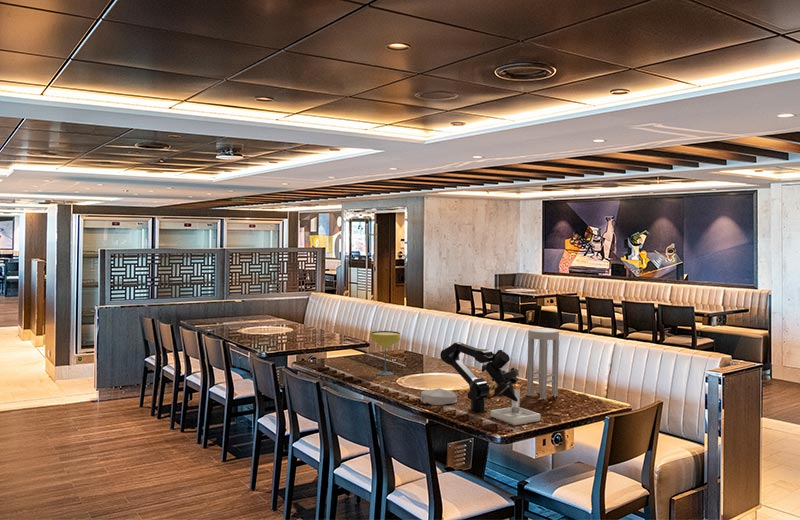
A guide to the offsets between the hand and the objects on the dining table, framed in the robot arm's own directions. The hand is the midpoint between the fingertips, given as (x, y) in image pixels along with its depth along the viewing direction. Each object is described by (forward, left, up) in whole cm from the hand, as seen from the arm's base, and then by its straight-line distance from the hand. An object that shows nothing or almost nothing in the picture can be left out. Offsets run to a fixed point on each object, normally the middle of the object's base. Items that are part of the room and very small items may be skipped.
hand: (518, 400), depth 298 cm
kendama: (-42, +23, -9) cm, 49 cm away
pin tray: (-1, -1, -9) cm, 9 cm away
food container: (-46, -12, -9) cm, 49 cm away
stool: (-28, +42, -9) cm, 52 cm away
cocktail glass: (-116, -3, -9) cm, 116 cm away
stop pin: (-1, -1, -7) cm, 7 cm away
